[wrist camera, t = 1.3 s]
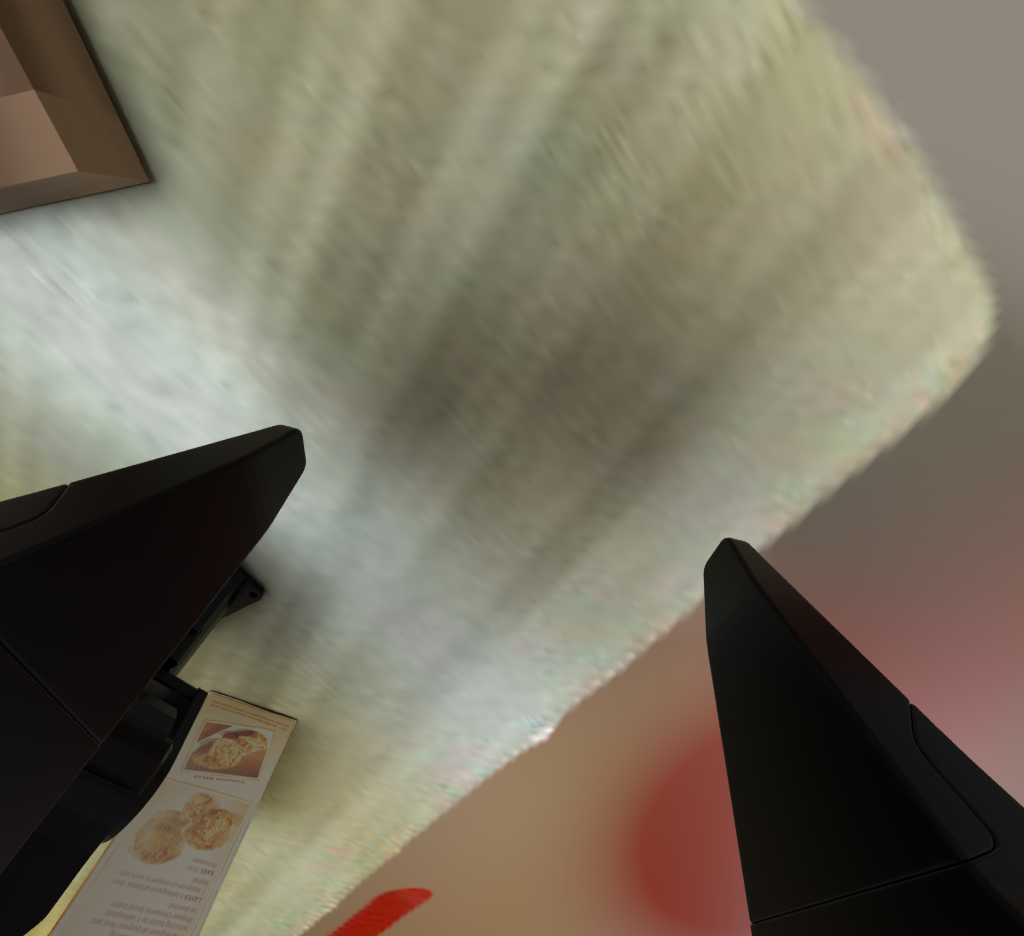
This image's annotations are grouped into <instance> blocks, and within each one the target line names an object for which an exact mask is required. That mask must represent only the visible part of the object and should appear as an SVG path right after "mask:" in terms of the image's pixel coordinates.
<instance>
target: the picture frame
mask: <svg viewBox="0 0 1024 936" xmlns="http://www.w3.org/2000/svg"><path fill="white" fill-rule="evenodd" d="M146 182H150V181H149V179H148V177H147V175H146V173H145V171H144V169H143V167H142V165H141V163H140V161H139V158H138V156H137V154H136V152H135V150H134V148H133V146H132V144H131V142H130V140H129V138H128V135H127V133H126V131H125V129H124V127H123V125H122V123H121V121H120V119H119V117H118V115H117V112H116V110H115V108H114V106H113V104H112V102H111V100H110V98H109V96H108V94H107V92H106V89H105V87H104V85H103V83H102V81H101V79H100V77H99V75H98V73H97V71H96V69H95V66H94V64H93V62H92V60H91V58H90V56H89V54H88V52H87V50H86V48H85V46H84V43H83V41H82V39H81V37H80V35H79V33H78V31H77V29H76V27H75V25H74V23H73V20H72V18H71V16H70V14H69V12H68V10H67V8H66V6H65V4H64V2H63V0H0V213H4V212H9V211H14V210H19V209H23V208H28V207H33V206H38V205H42V204H47V203H52V202H56V201H61V200H66V199H71V198H75V197H80V196H85V195H89V194H94V193H99V192H104V191H108V190H113V189H118V188H122V187H127V186H132V185H137V184H141V183H146Z"/></svg>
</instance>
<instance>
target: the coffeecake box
mask: <svg viewBox="0 0 1024 936" xmlns="http://www.w3.org/2000/svg"><path fill="white" fill-rule="evenodd" d="M296 723H297V721H296V720H294V719H291V718H288V717H285V716H281V715H278V714H275V713H272V712H269V711H266V710H264V709H261V708H258V707H255V706H253V705H250V704H248V703H245V702H243V701H240V700H237V699H234V698H231V697H228V696H225V695H222V694H219V693H216V692H213V691H210V692H209V693H208V695H207V697H206V699H205V701H204V703H203V705H202V707H201V709H200V711H199V713H198V716H197V718H196V720H195V722H194V724H193V726H192V728H191V730H190V732H189V734H188V736H187V738H186V740H185V742H184V744H183V746H182V748H181V750H180V752H179V754H178V756H177V758H176V760H175V762H174V764H173V766H172V768H171V770H170V771H169V773H168V775H167V776H166V778H165V779H164V781H163V782H162V784H161V785H160V787H159V788H158V790H157V791H156V792H155V794H154V795H153V796H152V798H151V799H150V800H149V801H148V803H147V804H146V805H145V806H144V808H143V809H142V810H141V811H140V812H139V813H138V814H137V816H136V817H135V818H134V819H133V820H132V821H131V822H130V823H129V824H128V825H127V826H126V827H125V828H124V829H123V830H122V831H121V832H119V833H118V834H117V835H116V836H115V837H113V839H112V840H111V842H110V843H109V845H108V846H107V848H106V849H105V851H104V852H103V854H102V855H101V857H100V858H99V860H98V861H97V863H96V864H95V866H94V867H93V869H92V870H91V872H90V873H89V875H88V876H87V878H86V879H85V881H84V882H83V884H82V885H81V887H80V888H79V890H78V891H77V893H76V894H75V896H74V897H73V899H72V900H71V902H70V903H69V905H68V906H67V908H66V909H65V911H64V912H63V914H62V915H61V916H60V918H59V919H58V921H57V922H56V924H55V925H54V927H53V928H52V930H51V931H50V933H49V934H48V936H199V934H200V932H201V930H202V927H203V925H204V923H205V921H206V918H207V916H208V914H209V912H210V910H211V907H212V905H213V903H214V901H215V899H216V896H217V894H218V892H219V890H220V888H221V886H222V883H223V881H224V879H225V877H226V875H227V872H228V870H229V868H230V866H231V864H232V862H233V859H234V857H235V855H236V853H237V851H238V849H239V847H240V844H241V842H242V840H243V838H244V836H245V834H246V831H247V829H248V827H249V825H250V823H251V821H252V818H253V816H254V814H255V812H256V809H257V807H258V805H259V802H260V800H261V798H262V796H263V793H264V791H265V789H266V787H267V784H268V782H269V780H270V778H271V775H272V773H273V771H274V769H275V767H276V764H277V762H278V760H279V758H280V756H281V753H282V751H283V749H284V747H285V745H286V743H287V741H288V738H289V736H290V734H291V732H292V730H293V728H294V727H295V725H296Z"/></svg>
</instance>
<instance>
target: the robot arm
mask: <svg viewBox="0 0 1024 936" xmlns="http://www.w3.org/2000/svg"><path fill="white" fill-rule="evenodd" d="M305 465H306V458H305V450H304V442H303V436H302V433H301V431H300V430H299V429H297V428H293V427H289V426H285V425H276V426H272V427H269V428H265V429H262V430H258V431H254V432H251V433H247V434H244V435H240V436H237V437H233V438H229V439H226V440H222V441H219V442H215V443H211V444H208V445H204V446H201V447H197V448H193V449H190V450H186V451H183V452H179V453H175V454H172V455H168V456H165V457H161V458H158V459H154V460H150V461H147V462H143V463H140V464H136V465H132V466H129V467H125V468H122V469H118V470H114V471H111V472H107V473H104V474H100V475H96V476H93V477H89V478H86V479H82V480H79V481H75V482H72V483H70V484H69V485H66V484H64V485H60V486H57V487H53V488H49V489H46V490H42V491H39V492H35V493H31V494H28V495H24V496H20V497H16V498H13V499H9V500H5V501H1V502H0V936H24V935H25V934H26V933H28V932H29V931H30V930H31V929H33V928H34V927H35V926H36V925H37V924H39V923H40V922H41V921H42V920H43V919H44V918H45V917H46V916H47V915H48V914H49V912H50V911H51V909H52V908H53V907H54V905H55V904H56V903H57V901H58V900H59V898H60V897H61V896H62V894H63V893H64V892H65V890H66V889H67V887H68V886H69V885H70V883H71V882H72V880H73V879H74V878H75V876H76V875H77V874H78V872H79V871H80V870H81V868H82V867H83V866H84V864H85V863H86V862H87V860H88V859H89V858H90V856H91V855H92V854H93V852H94V851H95V850H96V849H97V847H98V846H99V845H100V844H101V843H105V842H107V841H109V840H110V839H112V838H113V837H115V836H116V835H117V834H118V833H119V832H121V831H122V830H123V829H124V828H125V827H126V826H127V825H128V824H129V823H130V822H131V821H132V820H133V819H134V818H135V817H136V816H137V814H138V813H139V812H140V811H141V810H142V809H143V808H144V806H145V805H146V804H147V803H148V801H149V800H150V799H151V798H152V796H153V795H154V794H155V792H156V791H157V790H158V788H159V787H160V785H161V784H162V782H163V781H164V779H165V778H166V776H167V775H168V773H169V771H170V770H171V768H172V766H173V764H174V762H175V760H176V758H177V756H178V754H179V752H180V750H181V748H182V746H183V744H184V742H185V740H186V738H187V736H188V734H189V732H190V730H191V728H192V726H193V724H194V722H195V720H196V718H197V716H198V713H199V711H200V709H201V707H202V705H203V703H204V701H205V699H206V697H207V695H208V693H207V692H206V691H204V690H202V689H201V688H198V689H197V688H195V687H193V686H192V685H190V684H188V683H187V682H185V681H183V680H182V679H180V678H178V677H177V675H178V674H179V673H180V671H181V670H182V669H183V667H184V666H185V665H186V663H187V662H188V661H189V660H190V658H191V657H192V656H193V654H194V653H195V652H196V650H197V649H198V648H199V647H200V645H201V644H202V643H203V641H204V640H205V639H206V637H207V636H208V635H209V633H210V632H211V631H212V630H213V628H214V627H215V626H216V624H217V623H218V622H219V620H220V619H221V618H223V617H225V616H227V615H229V614H232V613H234V612H236V611H238V610H240V609H242V608H244V607H246V606H248V605H250V604H252V603H254V602H256V601H258V600H260V599H261V598H262V597H263V595H264V594H265V589H264V588H263V587H262V586H261V585H260V584H258V583H257V582H256V581H255V580H254V579H253V578H252V577H251V576H249V575H248V574H247V573H246V572H245V571H244V570H243V569H241V568H240V567H239V566H240V565H241V563H242V562H243V561H244V560H245V558H246V557H247V556H248V554H249V553H250V552H251V551H252V549H253V548H254V547H255V545H256V544H257V543H258V542H259V540H260V539H261V538H262V536H263V535H264V534H265V532H266V531H267V530H268V528H269V527H270V525H271V524H272V522H273V521H274V519H275V517H276V516H277V514H278V512H279V511H280V509H281V508H282V506H283V504H284V503H285V501H286V499H287V498H288V496H289V494H290V493H291V491H292V490H293V488H294V486H295V485H296V483H297V481H298V480H299V478H300V476H301V475H302V473H303V471H304V469H305ZM704 597H705V623H706V639H707V648H708V656H709V662H710V667H711V675H712V681H713V688H714V694H715V700H716V707H717V713H718V720H719V726H720V732H721V738H722V744H723V751H724V758H725V764H726V771H727V776H728V783H729V789H730V796H731V802H732V809H733V815H734V822H735V828H736V834H737V840H738V847H739V853H740V860H741V866H742V873H743V878H744V886H745V891H746V898H747V905H748V911H749V917H750V921H751V923H752V924H751V932H752V936H1024V807H1023V806H1021V805H1020V804H1019V803H1018V802H1017V801H1016V800H1015V799H1014V798H1013V797H1012V796H1010V795H1009V794H1008V793H1007V792H1006V791H1005V790H1004V789H1003V788H1002V787H1001V786H999V785H998V784H997V783H996V782H995V781H994V780H993V779H992V778H991V777H990V776H988V775H987V774H986V773H985V772H984V771H983V770H982V769H981V768H980V767H979V766H977V765H976V764H975V763H974V762H973V761H972V760H971V759H970V758H969V757H968V756H967V755H966V754H965V753H964V752H963V751H961V750H960V749H959V748H958V747H957V746H956V745H955V744H954V743H953V742H952V741H951V740H950V739H949V738H948V737H947V736H946V735H945V734H944V733H943V732H942V731H940V730H939V729H938V728H937V727H936V726H935V725H934V724H933V723H932V722H931V721H930V720H929V719H928V718H927V717H926V716H925V715H924V714H923V713H922V712H921V711H920V710H919V709H918V708H917V707H916V706H915V705H913V704H910V703H909V700H908V699H907V698H906V697H905V696H904V695H903V694H902V693H901V692H900V691H899V690H898V689H897V688H896V687H895V686H894V685H893V684H892V683H891V682H890V681H889V680H888V679H887V678H886V677H885V676H884V675H883V674H882V673H881V672H880V671H879V670H878V669H877V668H876V667H875V666H874V665H873V664H872V663H871V662H870V661H868V659H867V658H866V657H864V656H863V655H862V654H861V653H860V652H859V651H858V650H857V649H856V648H855V647H854V646H853V645H852V644H851V643H850V642H849V641H848V640H847V639H846V638H845V637H844V636H843V635H842V634H841V633H840V632H839V631H838V630H837V629H836V628H835V627H834V626H833V625H831V623H830V622H829V621H827V620H826V619H825V618H824V617H823V616H822V615H821V614H820V613H819V612H818V611H817V610H816V609H815V608H814V607H813V606H812V605H811V604H810V603H809V602H808V601H807V600H806V599H805V598H804V597H803V596H802V595H801V594H800V593H799V592H798V591H797V590H796V589H795V588H794V587H793V586H792V585H791V584H790V583H788V581H787V580H786V579H784V578H783V577H782V576H781V575H780V574H779V573H778V572H777V571H776V570H775V569H774V568H773V567H772V566H771V565H770V564H769V563H768V562H767V561H766V560H765V559H764V558H763V557H762V556H761V555H760V554H759V553H758V552H757V551H756V550H755V549H754V548H753V547H752V546H751V545H750V544H749V543H747V542H745V541H741V540H737V539H733V538H725V539H723V540H722V541H721V542H720V544H719V545H718V547H717V548H716V550H715V551H714V552H713V554H712V555H711V557H710V558H709V560H708V561H707V563H706V565H705V568H704Z"/></svg>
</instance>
